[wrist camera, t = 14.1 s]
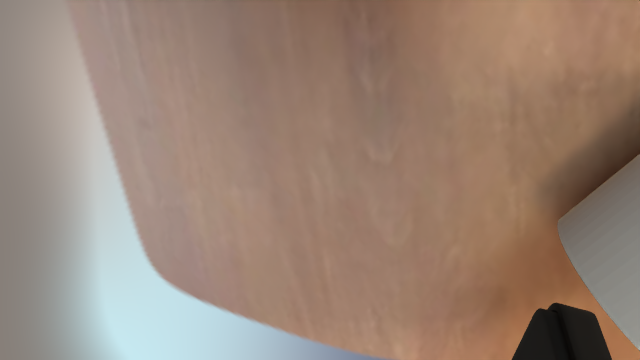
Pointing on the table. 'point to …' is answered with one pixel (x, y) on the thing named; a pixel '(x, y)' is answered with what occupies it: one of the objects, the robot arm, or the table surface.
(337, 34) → the table surface
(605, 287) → the toilet paper
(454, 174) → the table surface
